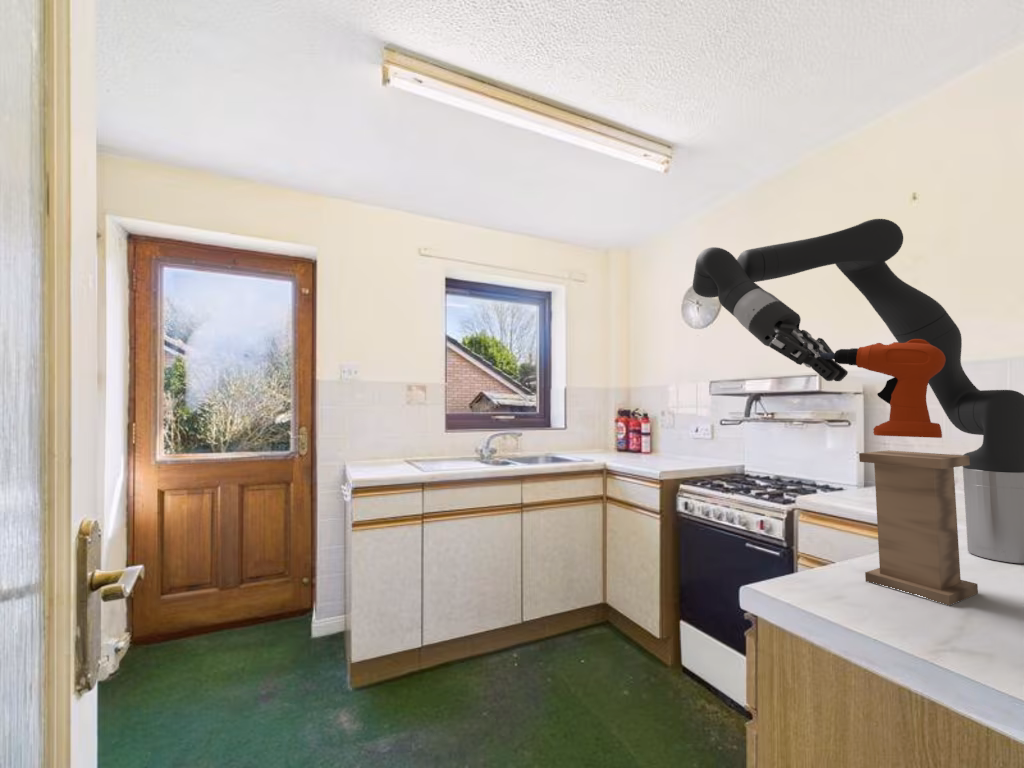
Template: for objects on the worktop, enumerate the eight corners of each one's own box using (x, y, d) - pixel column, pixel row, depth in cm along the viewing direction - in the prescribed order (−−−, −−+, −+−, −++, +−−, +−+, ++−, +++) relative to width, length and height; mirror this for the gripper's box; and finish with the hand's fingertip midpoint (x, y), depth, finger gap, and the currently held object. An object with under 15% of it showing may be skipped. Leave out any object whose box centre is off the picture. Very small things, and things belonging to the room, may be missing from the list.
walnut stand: (895, 571, 82) (888, 450, 83) (978, 593, 72) (969, 455, 73) (865, 581, 78) (859, 453, 79) (949, 606, 68) (940, 459, 69)
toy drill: (798, 424, 80) (809, 340, 80) (943, 444, 65) (957, 341, 65) (787, 423, 77) (799, 336, 77) (937, 444, 62) (952, 336, 62)
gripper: (753, 296, 80) (831, 358, 68) (801, 303, 86) (879, 361, 74) (728, 330, 84) (797, 393, 73) (775, 335, 90) (845, 394, 79)
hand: (838, 377), depth 74 cm, fingers closed on toy drill
